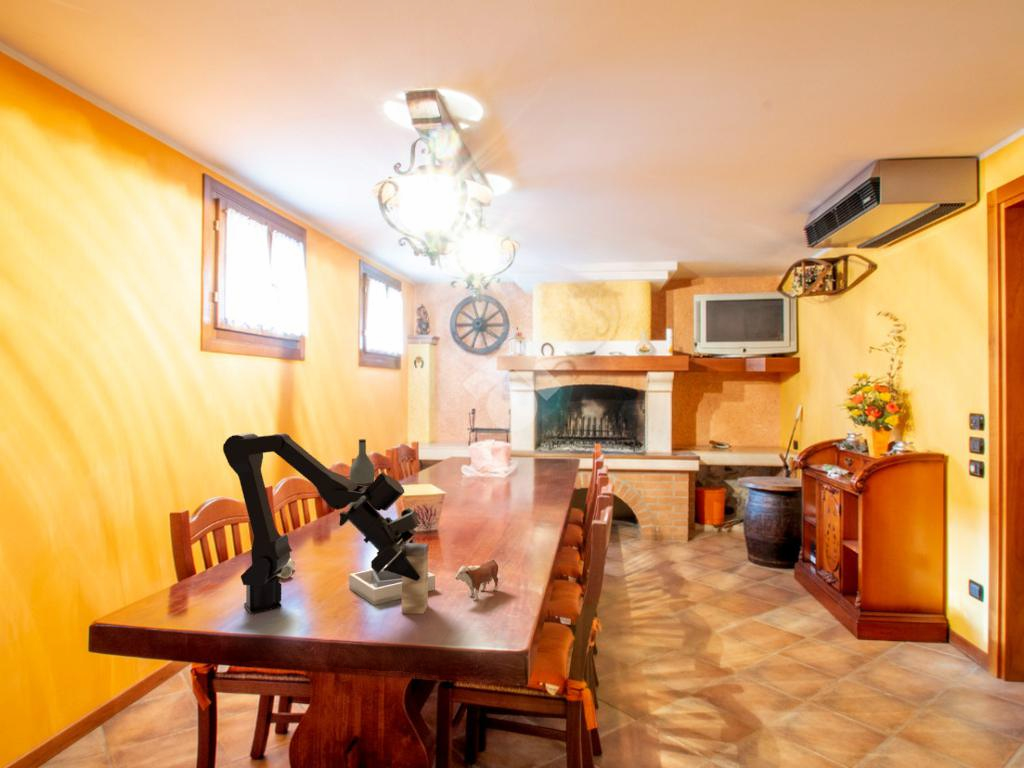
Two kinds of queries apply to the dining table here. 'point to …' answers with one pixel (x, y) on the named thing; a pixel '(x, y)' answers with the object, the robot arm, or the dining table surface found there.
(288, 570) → the pipe fitting
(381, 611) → the dining table surface
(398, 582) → the walled box
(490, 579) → the bull figurine
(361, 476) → the bottle
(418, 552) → the wooden block
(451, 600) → the dining table surface
